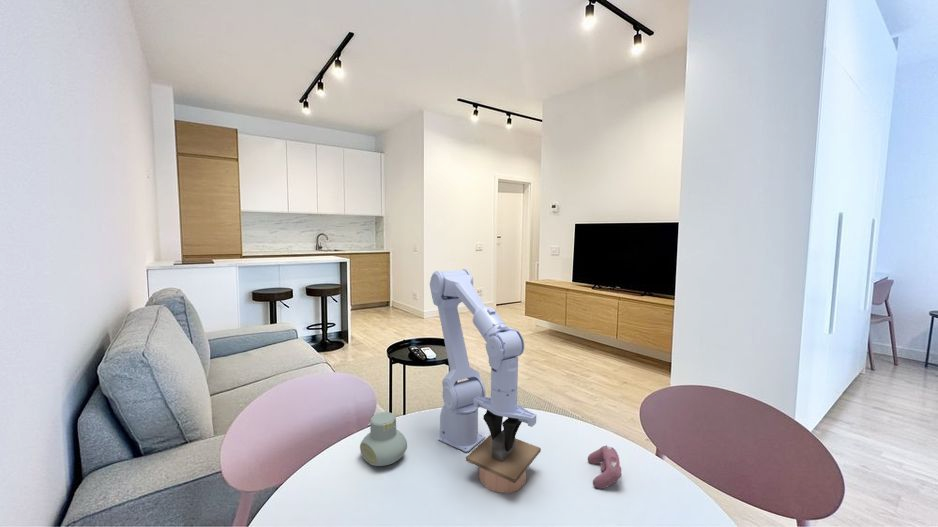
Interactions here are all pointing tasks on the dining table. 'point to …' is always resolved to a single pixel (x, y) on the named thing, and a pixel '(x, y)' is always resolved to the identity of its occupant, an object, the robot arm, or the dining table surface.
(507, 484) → the bowl
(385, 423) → the air freshener
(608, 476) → the video game controller
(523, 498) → the dining table surface
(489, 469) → the lid
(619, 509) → the dining table surface
